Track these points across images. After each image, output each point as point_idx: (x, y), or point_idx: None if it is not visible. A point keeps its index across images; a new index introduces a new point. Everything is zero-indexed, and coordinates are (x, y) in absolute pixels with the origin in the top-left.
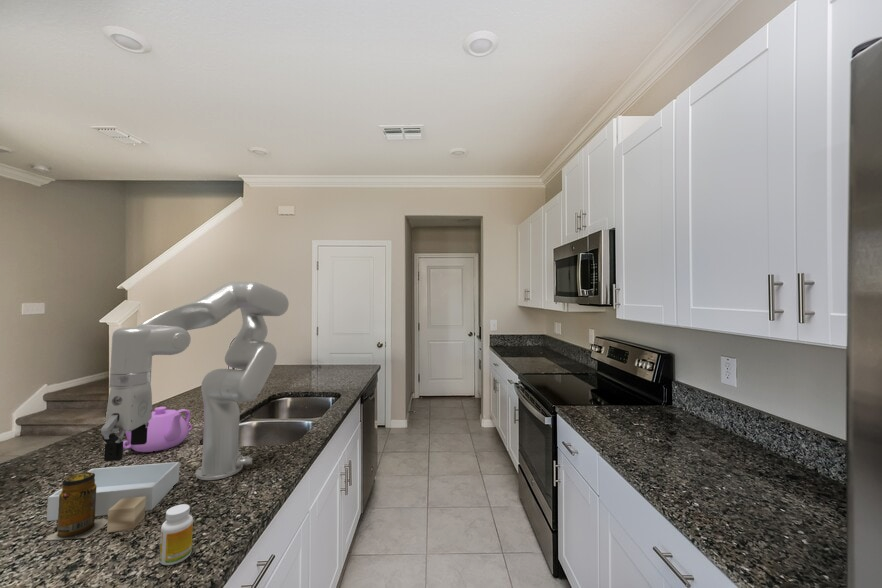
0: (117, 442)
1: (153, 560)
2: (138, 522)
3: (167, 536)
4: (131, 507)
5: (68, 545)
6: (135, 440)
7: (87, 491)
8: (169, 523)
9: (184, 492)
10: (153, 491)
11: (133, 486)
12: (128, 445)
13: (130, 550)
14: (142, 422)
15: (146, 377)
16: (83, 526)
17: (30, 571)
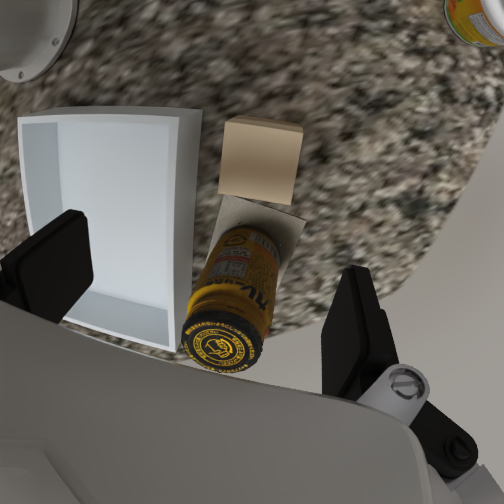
0: (419, 380)
1: (466, 57)
2: (274, 120)
3: None
4: (298, 142)
5: (319, 245)
6: (78, 274)
7: (253, 294)
8: None
9: (121, 59)
10: (178, 114)
11: (73, 207)
12: None
13: (408, 107)
14: (80, 363)
15: None
16: (269, 243)
17: (389, 273)
